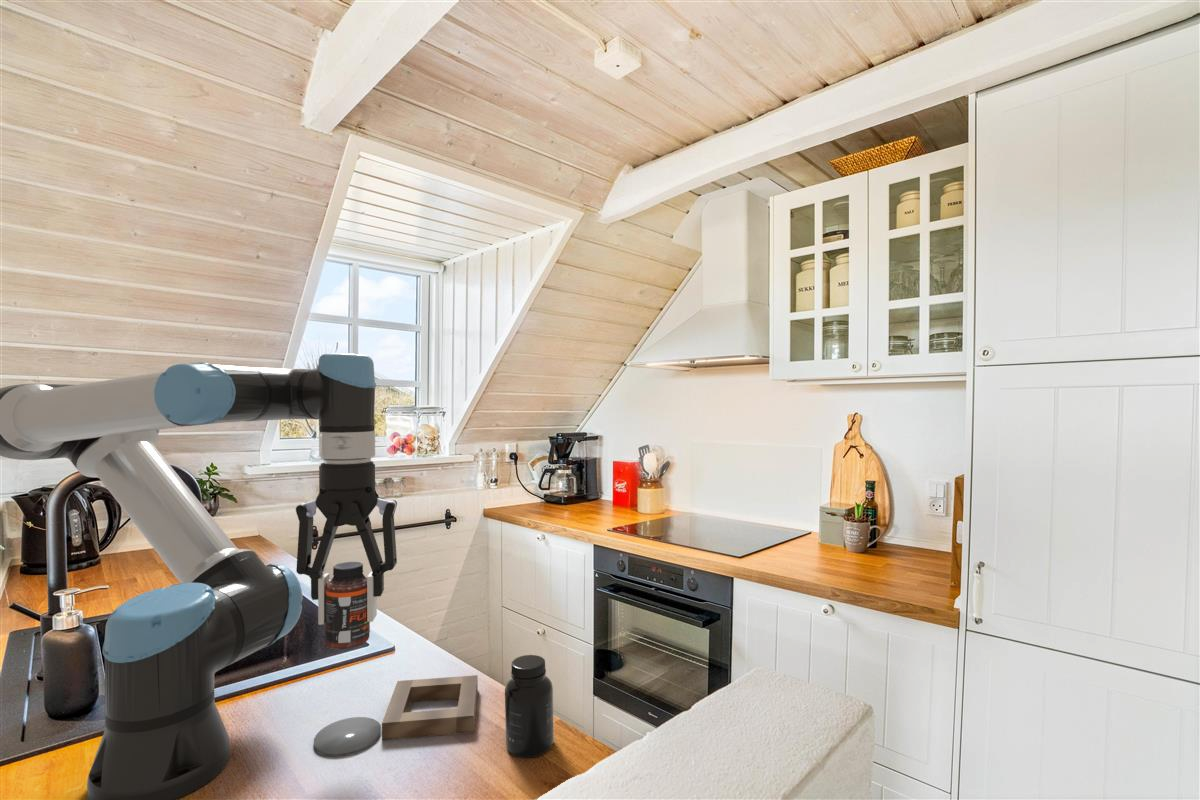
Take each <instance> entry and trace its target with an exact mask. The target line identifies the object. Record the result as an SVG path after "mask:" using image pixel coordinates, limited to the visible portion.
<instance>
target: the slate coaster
mask: <svg viewBox="0 0 1200 800" xmlns="http://www.w3.org/2000/svg"><path fill="white" fill-rule="evenodd" d="M381 735H382V724H381V723H380V722H379V721H378V720H377V719H375V718H371V717H366V716H355V717H354V716H353V717H348V718H344V719H339V720H336V721H333V722H331V723H330V724H327V725H326V726H324V727H323V728H322V729H320V730H319V731H318V732H317V733H316V735H315V736H314V739H313V747H314V750H315V751H316V752H317V753H319V754H321V755H324V756H328V757H342V756H343V757H344V756H348V755H353V754H355V753H358V752H361V751H363V750H365V749H367V748H369V747H371V746H372V745H373V744H376V742H377V741H378V739H379V738H380V737H381Z"/></svg>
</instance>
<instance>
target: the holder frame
mask: <svg viewBox="0 0 1200 800" xmlns="http://www.w3.org/2000/svg"><path fill="white" fill-rule="evenodd" d="M478 676H479V675H476V674H475V675H464V676H462V675H460V676H446V677H433V678H419V679H407V680H406V679H405V680H397V682H396V684H395V686H394V690H393V691H392V695H391V697H390V700H389V702H388V706H387V708H386V712H385V713H384V716H383V719H382V721H381V741H388V740H389V739H390V740H402V738H404V739H413V737H414V738H424V737H425V738H426V737H427V738H428V737H436V736H445V735H446V736H447V735H461V734H471V733H475V732H474V731H475V721H476V712H477V711H476V709H477V701H478V686H479V685H478V684H479V683H478ZM457 699H458V702H457V704H458V705H457V707H456V708H446V709H445V708H444V709H435V710H433V709H432V710H430V709H429V710H421V711H419V710H417V711H409V710H410V707H411V704H412V703H420V702H431V701H432V702H434V701H444V700H445V701H446V700H457Z"/></svg>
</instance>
